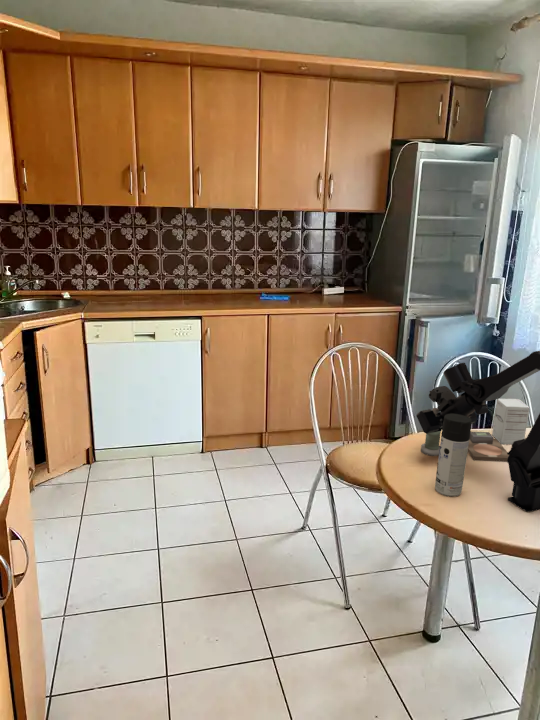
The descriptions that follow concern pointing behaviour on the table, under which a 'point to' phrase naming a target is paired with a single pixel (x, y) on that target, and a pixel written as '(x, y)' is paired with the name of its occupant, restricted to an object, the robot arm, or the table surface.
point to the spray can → (453, 454)
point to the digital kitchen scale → (486, 447)
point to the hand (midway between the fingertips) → (430, 429)
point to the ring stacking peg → (432, 441)
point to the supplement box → (510, 420)
